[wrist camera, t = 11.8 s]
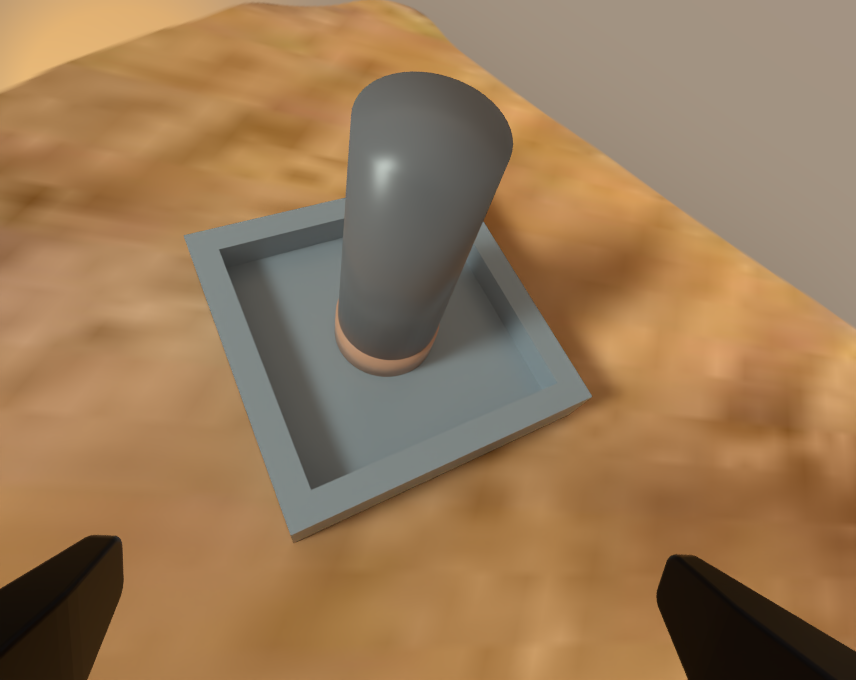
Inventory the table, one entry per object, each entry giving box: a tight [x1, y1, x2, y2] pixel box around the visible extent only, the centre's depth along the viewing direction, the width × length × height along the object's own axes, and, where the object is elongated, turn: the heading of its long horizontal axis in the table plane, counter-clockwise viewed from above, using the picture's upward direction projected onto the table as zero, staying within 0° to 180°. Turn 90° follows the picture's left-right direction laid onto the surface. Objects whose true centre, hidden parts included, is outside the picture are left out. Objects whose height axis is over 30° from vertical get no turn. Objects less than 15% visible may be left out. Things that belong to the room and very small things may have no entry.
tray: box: [184, 198, 592, 543], centre depth 24 cm, size 14×14×2 cm
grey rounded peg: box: [335, 72, 513, 377], centre depth 19 cm, size 5×5×12 cm
